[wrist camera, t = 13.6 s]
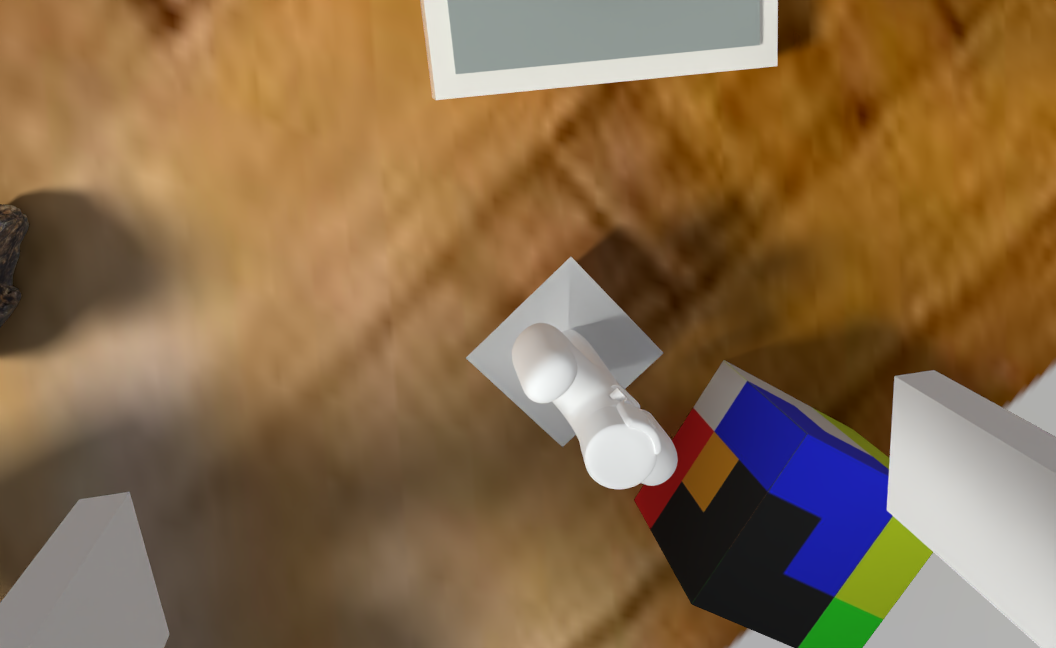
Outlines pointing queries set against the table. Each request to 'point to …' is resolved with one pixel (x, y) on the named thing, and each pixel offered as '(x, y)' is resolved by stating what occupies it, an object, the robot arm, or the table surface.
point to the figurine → (581, 377)
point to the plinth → (589, 41)
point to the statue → (10, 256)
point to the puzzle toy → (781, 518)
